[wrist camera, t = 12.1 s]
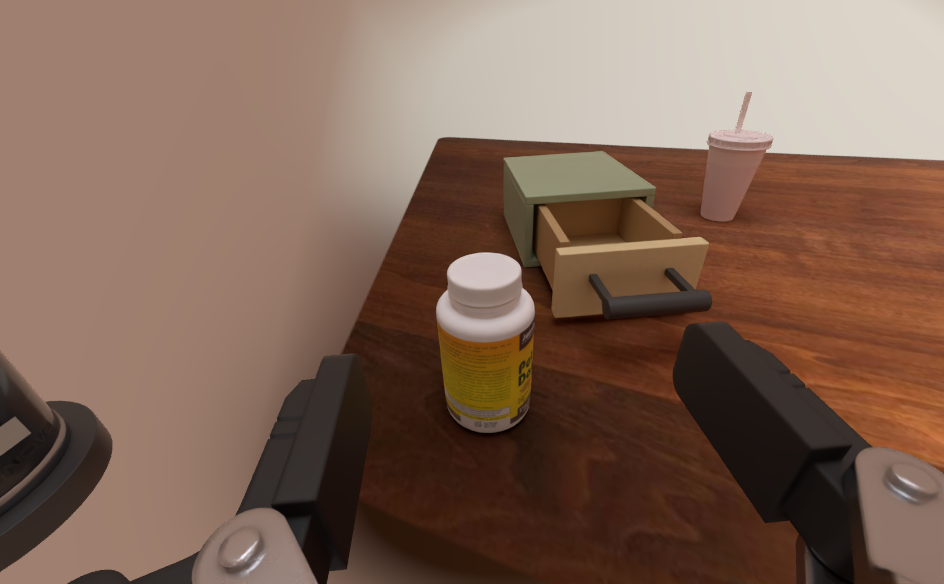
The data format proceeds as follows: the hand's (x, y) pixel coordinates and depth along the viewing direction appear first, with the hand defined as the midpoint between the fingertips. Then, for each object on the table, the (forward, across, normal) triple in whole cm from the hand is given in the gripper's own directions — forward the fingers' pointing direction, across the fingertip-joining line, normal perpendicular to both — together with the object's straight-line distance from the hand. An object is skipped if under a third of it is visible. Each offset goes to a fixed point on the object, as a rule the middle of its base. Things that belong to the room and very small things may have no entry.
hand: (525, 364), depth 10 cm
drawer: (+23, +12, -13) cm, 29 cm away
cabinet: (+36, +12, -14) cm, 41 cm away
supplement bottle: (+11, 0, -14) cm, 18 cm away
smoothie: (+38, +32, -14) cm, 52 cm away
